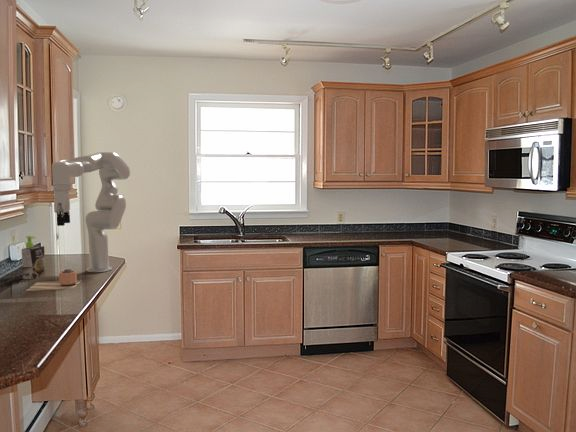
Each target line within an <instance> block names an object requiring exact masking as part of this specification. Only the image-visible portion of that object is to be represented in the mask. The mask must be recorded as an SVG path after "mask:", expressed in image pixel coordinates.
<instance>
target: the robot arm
mask: <svg viewBox="0 0 576 432" xmlns="http://www.w3.org/2000/svg"><path fill="white" fill-rule="evenodd" d="M51 170H52V171H51V172H52V173H51V175H52V176H51V177H52V188H53V190H52V191H53V192H54V193H53V194H54V195H53V203H54V204H53V212H54V213H56V226H58V227H59V226H61V227H64V226H65V224H70V223H71V215H70V210H71V204H70V203H71V201H70V192H71V178H78V177H80V176H82V175H83V174H84V173H85V174H86V173H92V172H95V171H98V175H99V179H100V182H101V189H100V191H99V193H98V196H97V198H96V200H95V203H94V204H95V206H94V207H95V209H96V210H93V211H90V212H88V213H87V214H86V216H85V225H86V230H87V236H88V238H87V239H88V254H89V255H88V259H89V267H87V268H86V271H87V273H88V272H89V273H105V272H109V271H112V269H113V267H112V266H111V265H110V263H109V262H110V261H109V242H108V241H109V239H108V235H107V233H106V230H116V229H118V227H119V226H120V224H121V221H122V218H123V217H124V213H125V211H126V207H127V202H126V199H125V197H124V196H123V195H119V194H118V189H119V188H118V187H117V185H116V183H115V181H114V180H117V181H118V180H119V181H121V180H126V179H127V180H128V178H129V177H130V176H131V170H130V167H129V165H128V163H126V162H125V160H124V159H123V158H122V157H121V156H120V155H119V154H118V153H116V152H112V151H109V152H107V151H105V152H103V151H100V152H95V153H91V154H88V155H83V156H78V157H70V158H65V159H61V160H58V161H55V162H52V164H51Z"/></svg>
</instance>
